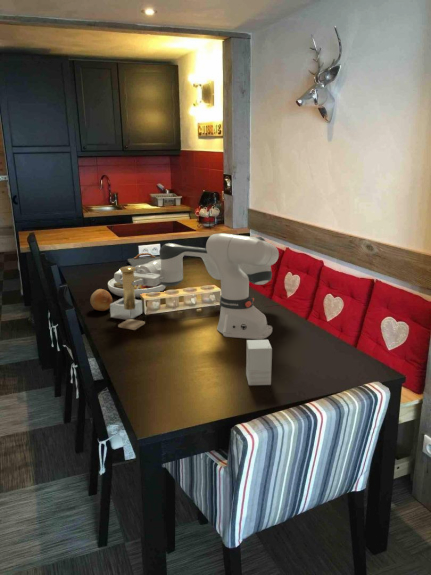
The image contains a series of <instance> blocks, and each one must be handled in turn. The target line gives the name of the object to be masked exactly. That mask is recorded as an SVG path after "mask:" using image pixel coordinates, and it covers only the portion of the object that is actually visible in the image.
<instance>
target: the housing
mask: <svg viewBox="0 0 431 575" xmlns="http://www.w3.org/2000/svg"><path fill="white" fill-rule="evenodd" d="M109 309H110V310H109V312H110V318H113V319H119V320H125V321H126V320H128V319H133V320H134V319H135V318H137V317H138V316H140V315H141V314H143V300H141V299H135V309H132V310H126V309H124V297H122V298H119V299H118V300H116V301H114V302H113V301H112V303H111V304H110V307H109Z"/></svg>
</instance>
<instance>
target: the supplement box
mask: <svg viewBox="0 0 431 575" xmlns="http://www.w3.org/2000/svg"><path fill="white" fill-rule="evenodd" d="M245 352H246V359H245V360H246V361H245V362H246V364H245V366H246V367H245V376H246V379H247V384H248V386H272V367H273V366H272V359H273V348H272V345H271V343H270V341H269V339H246V351H245Z"/></svg>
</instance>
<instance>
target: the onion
mask: <svg viewBox="0 0 431 575" xmlns="http://www.w3.org/2000/svg"><path fill="white" fill-rule="evenodd" d="M89 301H90V305H91V307H92V308H93V309H94V310H96V311H100V312H105V311H107V310H108V309H110V304H111V303H113V297H112V295H111V292H109V291H107V290H106V289H105V288H104V289H102V288H99V289H96V290H95V291H94V292H93V293H92V294H91V296H90V300H89Z"/></svg>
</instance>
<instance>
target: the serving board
mask: <svg viewBox="0 0 431 575" xmlns="http://www.w3.org/2000/svg"><path fill="white" fill-rule="evenodd" d="M159 259H160V256H155V255H153V254H151V253H150V252H142V253H138V254H137V255H136V256H135V257H132V258H128V259H127V260H126V261H127V262H128V264H130V266H138V265H143V264H146V263H149V262H151V261H154V260H159Z"/></svg>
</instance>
